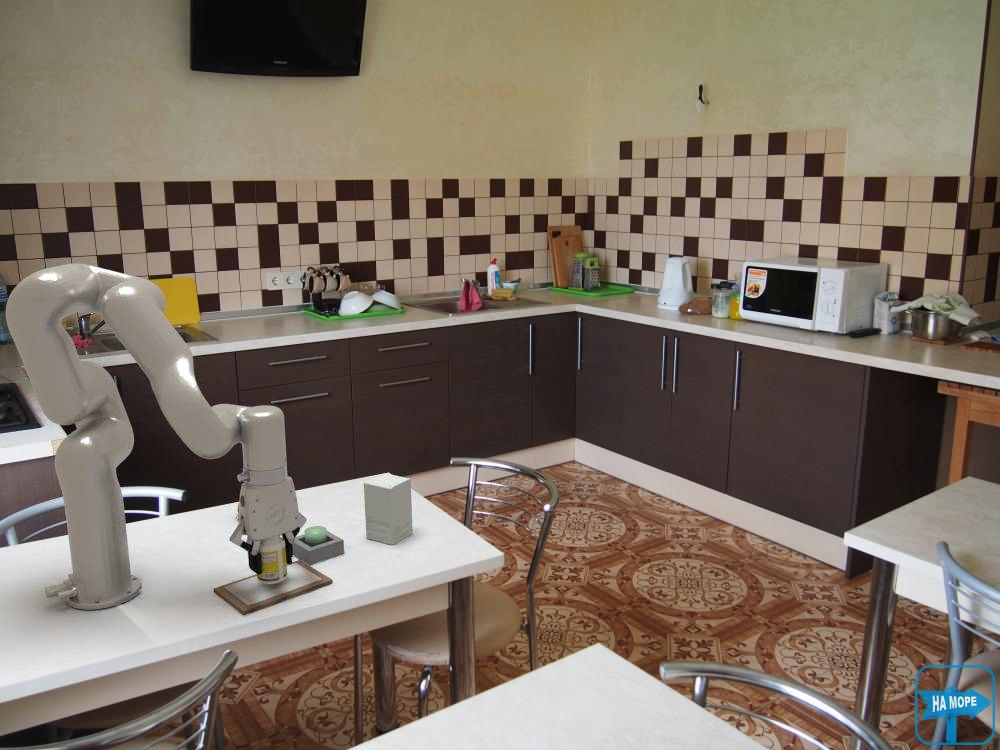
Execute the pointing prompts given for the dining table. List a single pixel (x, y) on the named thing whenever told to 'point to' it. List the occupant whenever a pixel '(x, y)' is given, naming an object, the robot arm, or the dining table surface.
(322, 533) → the button
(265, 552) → the supplement bottle
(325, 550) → the button housing
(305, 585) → the board
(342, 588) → the dining table surface
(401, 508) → the supplement box
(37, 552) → the dining table surface
